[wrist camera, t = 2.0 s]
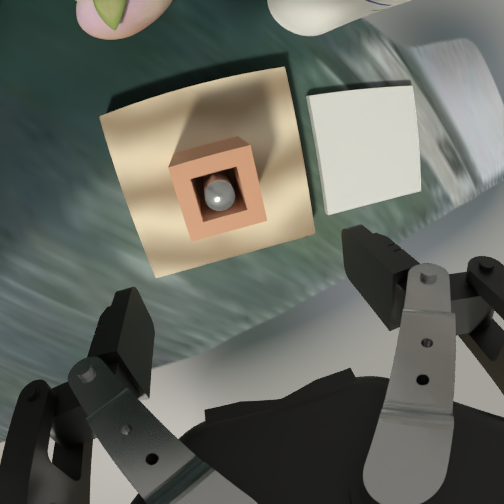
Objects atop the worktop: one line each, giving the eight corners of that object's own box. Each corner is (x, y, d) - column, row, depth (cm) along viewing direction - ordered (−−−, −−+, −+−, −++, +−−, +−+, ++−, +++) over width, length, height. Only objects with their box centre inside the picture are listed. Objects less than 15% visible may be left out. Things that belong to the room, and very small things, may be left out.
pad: (305, 96, 27) (308, 96, 26) (408, 85, 28) (412, 85, 27) (325, 212, 32) (328, 215, 32) (416, 188, 33) (420, 190, 32)
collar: (173, 154, 25) (168, 167, 20) (238, 136, 26) (250, 144, 20) (191, 214, 28) (191, 241, 23) (252, 197, 28) (267, 220, 23)
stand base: (105, 115, 24) (99, 116, 23) (278, 68, 25) (284, 66, 24) (157, 268, 32) (156, 278, 30) (308, 226, 33) (315, 233, 31)
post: (199, 167, 26) (201, 186, 21) (222, 161, 26) (231, 178, 21) (205, 189, 27) (209, 214, 22) (228, 183, 27) (238, 206, 22)
